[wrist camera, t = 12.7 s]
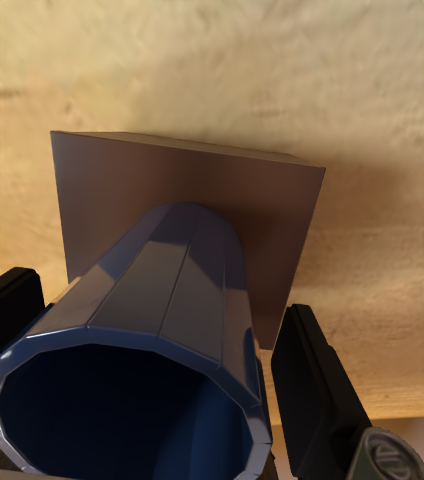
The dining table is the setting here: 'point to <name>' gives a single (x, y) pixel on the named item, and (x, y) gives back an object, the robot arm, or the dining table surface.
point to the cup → (144, 362)
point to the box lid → (194, 191)
